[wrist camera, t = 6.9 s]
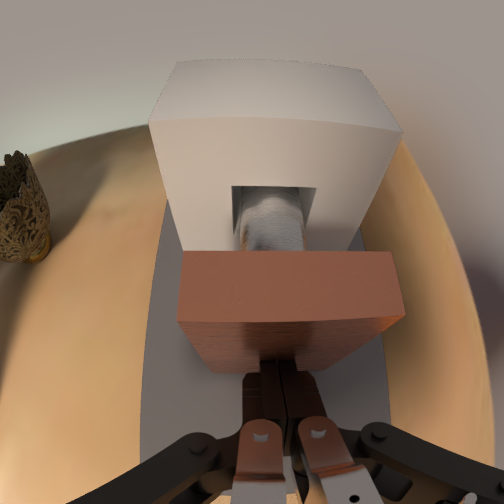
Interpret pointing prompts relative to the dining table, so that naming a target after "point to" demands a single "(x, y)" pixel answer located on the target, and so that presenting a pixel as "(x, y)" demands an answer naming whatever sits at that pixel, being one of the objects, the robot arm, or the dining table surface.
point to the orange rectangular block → (283, 293)
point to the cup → (22, 212)
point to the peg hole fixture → (229, 210)
